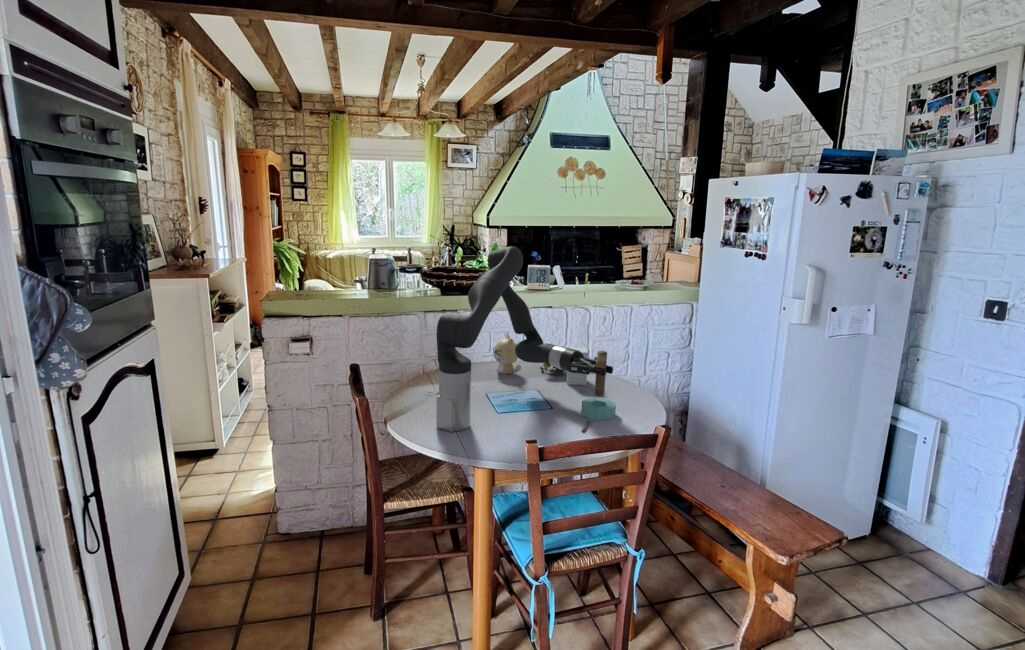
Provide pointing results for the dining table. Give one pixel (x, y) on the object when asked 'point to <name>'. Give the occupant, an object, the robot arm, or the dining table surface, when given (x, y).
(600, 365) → the brown wooden rod
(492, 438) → the dining table surface
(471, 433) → the dining table surface
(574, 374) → the supplement box
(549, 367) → the decorative flower
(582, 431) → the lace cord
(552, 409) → the dining table surface
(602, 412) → the teal ring
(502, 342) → the kitten
